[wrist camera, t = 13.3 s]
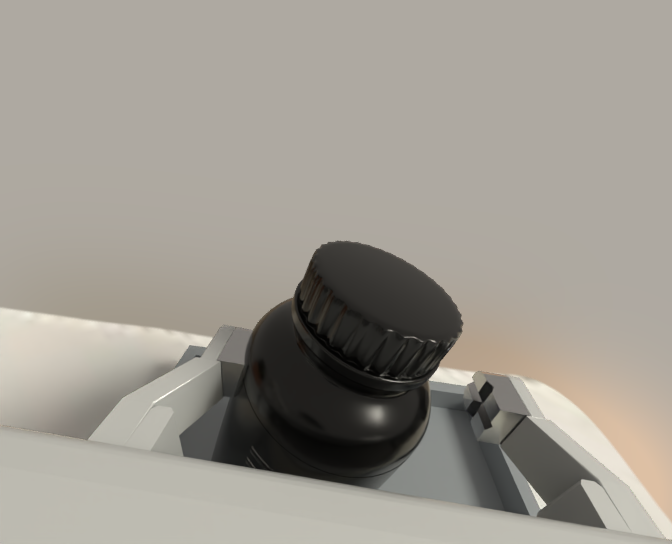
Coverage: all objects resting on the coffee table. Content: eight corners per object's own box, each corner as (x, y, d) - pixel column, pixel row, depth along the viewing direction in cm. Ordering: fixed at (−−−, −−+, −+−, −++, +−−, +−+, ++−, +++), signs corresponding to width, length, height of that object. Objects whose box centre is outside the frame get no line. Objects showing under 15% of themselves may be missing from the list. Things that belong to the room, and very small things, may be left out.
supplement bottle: (368, 494, 14) (532, 336, 9) (246, 625, 10) (429, 466, 4) (298, 386, 18) (379, 225, 12) (183, 442, 13) (229, 219, 7)
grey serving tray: (1, 692, 9) (-42, 686, 7) (193, 370, 19) (190, 345, 18) (599, 744, 10) (653, 747, 8) (468, 410, 20) (483, 388, 19)
